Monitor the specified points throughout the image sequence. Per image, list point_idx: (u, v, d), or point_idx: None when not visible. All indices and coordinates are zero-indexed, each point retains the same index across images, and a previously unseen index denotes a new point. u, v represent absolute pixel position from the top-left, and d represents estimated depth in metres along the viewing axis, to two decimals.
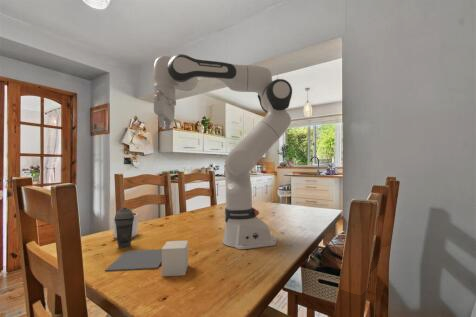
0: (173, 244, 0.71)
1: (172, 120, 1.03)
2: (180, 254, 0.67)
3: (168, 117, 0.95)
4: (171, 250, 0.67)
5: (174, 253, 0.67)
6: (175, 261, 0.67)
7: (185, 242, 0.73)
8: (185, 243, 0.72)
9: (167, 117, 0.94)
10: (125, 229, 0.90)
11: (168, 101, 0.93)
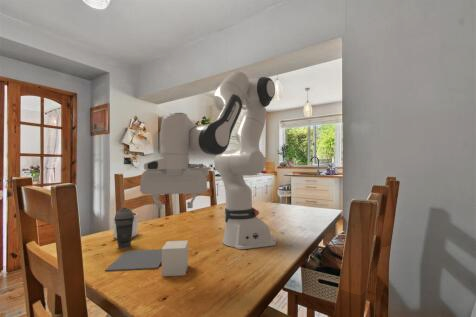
0: (173, 244, 0.71)
1: None
2: (180, 254, 0.67)
3: None
4: (171, 250, 0.67)
5: (174, 253, 0.67)
6: (175, 261, 0.67)
7: (185, 242, 0.73)
8: (185, 243, 0.72)
9: None
10: (125, 229, 0.90)
11: None
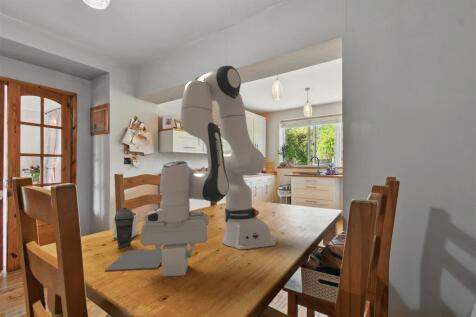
0: (173, 244, 0.71)
1: None
2: (180, 254, 0.67)
3: None
4: (171, 250, 0.67)
5: (174, 253, 0.67)
6: (175, 261, 0.67)
7: None
8: None
9: None
10: (125, 229, 0.90)
11: None
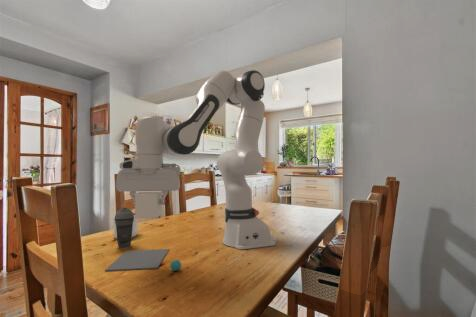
0: (147, 192, 0.77)
1: None
2: (152, 199, 0.74)
3: None
4: (144, 195, 0.73)
5: (147, 198, 0.74)
6: (147, 205, 0.73)
7: (158, 191, 0.79)
8: (158, 192, 0.78)
9: None
10: (125, 229, 0.90)
11: None
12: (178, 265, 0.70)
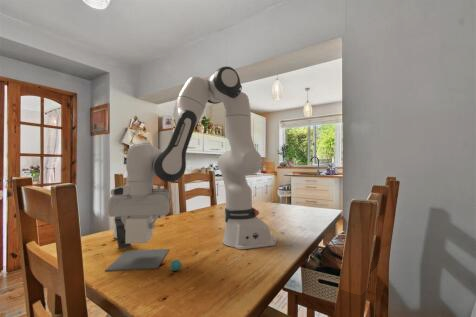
0: (138, 216, 0.80)
1: None
2: (142, 224, 0.76)
3: None
4: (134, 220, 0.76)
5: (137, 223, 0.76)
6: (137, 230, 0.76)
7: None
8: (148, 216, 0.80)
9: None
10: (125, 229, 0.90)
11: None
12: (178, 265, 0.70)
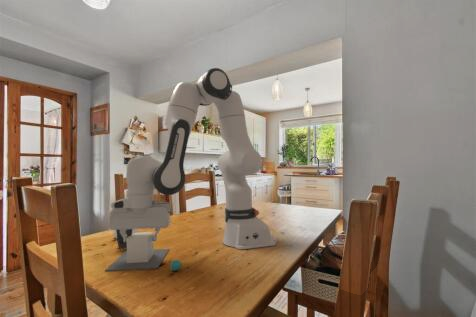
0: (139, 234, 0.80)
1: None
2: (143, 243, 0.76)
3: None
4: (135, 240, 0.76)
5: (138, 242, 0.76)
6: (139, 249, 0.76)
7: (150, 233, 0.81)
8: (149, 234, 0.80)
9: None
10: None
11: None
12: (178, 265, 0.70)
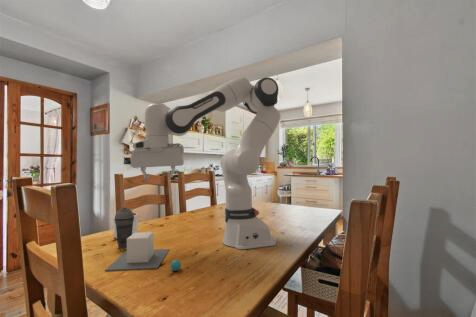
0: (139, 234, 0.80)
1: None
2: (143, 243, 0.76)
3: None
4: (135, 240, 0.76)
5: (138, 242, 0.76)
6: (139, 249, 0.76)
7: (150, 233, 0.81)
8: (149, 234, 0.80)
9: None
10: (125, 229, 0.90)
11: None
12: (178, 265, 0.70)
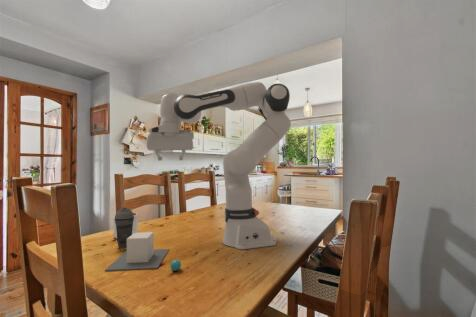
0: (139, 234, 0.80)
1: None
2: (143, 243, 0.76)
3: None
4: (135, 240, 0.76)
5: (138, 242, 0.76)
6: (139, 249, 0.76)
7: (150, 233, 0.81)
8: (149, 234, 0.80)
9: None
10: (125, 229, 0.90)
11: None
12: (178, 265, 0.70)
